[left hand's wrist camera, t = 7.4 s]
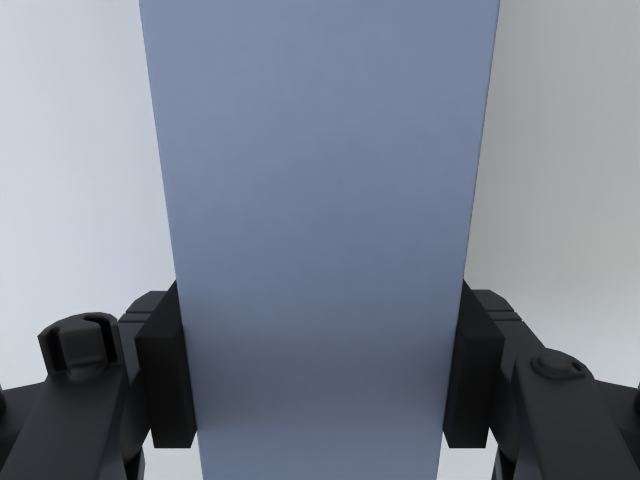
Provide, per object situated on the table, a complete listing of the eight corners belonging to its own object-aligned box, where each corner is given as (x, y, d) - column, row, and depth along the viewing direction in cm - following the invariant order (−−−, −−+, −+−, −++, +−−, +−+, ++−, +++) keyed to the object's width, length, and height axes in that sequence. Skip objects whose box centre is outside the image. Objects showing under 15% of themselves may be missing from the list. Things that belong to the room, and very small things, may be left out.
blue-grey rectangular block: (239, -121, 14) (59, -564, 4) (400, -121, 14) (579, -565, 4) (262, 303, 20) (207, 519, 10) (377, 303, 20) (432, 520, 10)
